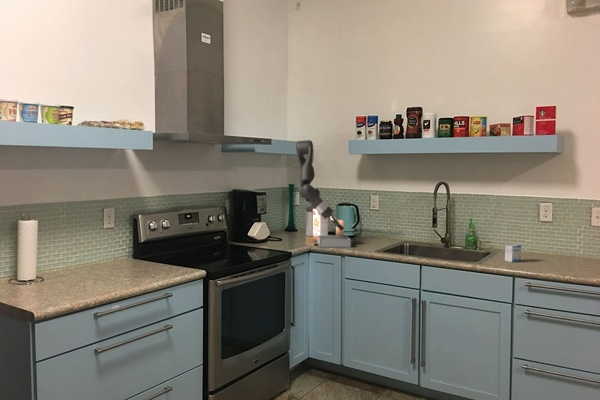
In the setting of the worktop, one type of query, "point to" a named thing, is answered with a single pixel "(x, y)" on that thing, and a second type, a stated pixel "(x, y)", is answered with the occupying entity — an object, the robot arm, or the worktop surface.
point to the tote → (334, 241)
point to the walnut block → (309, 241)
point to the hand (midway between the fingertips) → (342, 228)
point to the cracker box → (319, 224)
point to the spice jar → (338, 231)
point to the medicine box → (513, 253)
